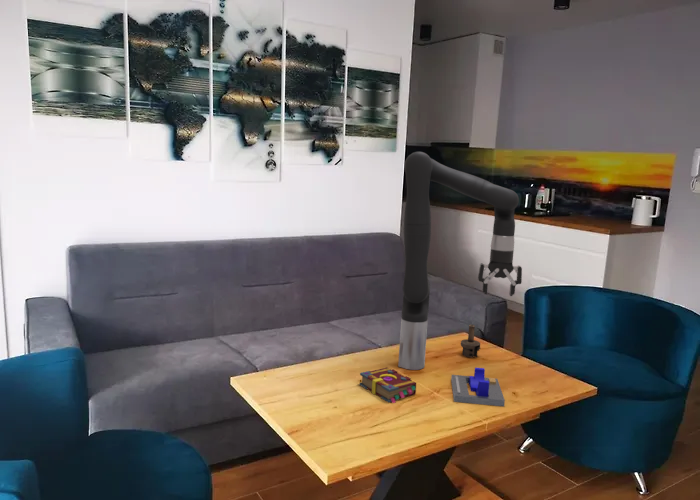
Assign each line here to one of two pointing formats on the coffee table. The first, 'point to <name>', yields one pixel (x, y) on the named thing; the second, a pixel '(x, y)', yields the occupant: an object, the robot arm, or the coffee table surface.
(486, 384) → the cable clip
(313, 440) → the coffee table surface
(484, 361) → the coffee table surface
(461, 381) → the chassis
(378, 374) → the decorative book
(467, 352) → the industrial component
